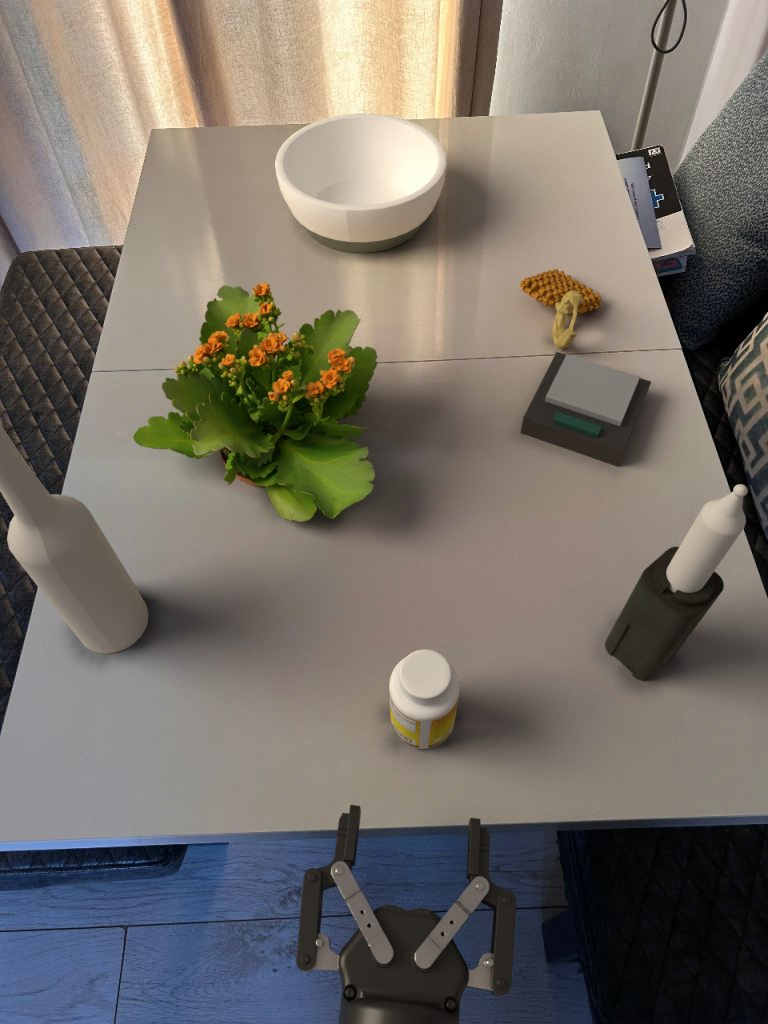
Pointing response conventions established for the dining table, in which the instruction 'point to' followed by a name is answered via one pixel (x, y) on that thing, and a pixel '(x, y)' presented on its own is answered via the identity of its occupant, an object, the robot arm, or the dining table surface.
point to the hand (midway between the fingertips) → (414, 813)
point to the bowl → (361, 180)
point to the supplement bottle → (423, 699)
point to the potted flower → (273, 404)
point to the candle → (676, 590)
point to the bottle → (70, 559)
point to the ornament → (561, 300)
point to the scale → (586, 408)
